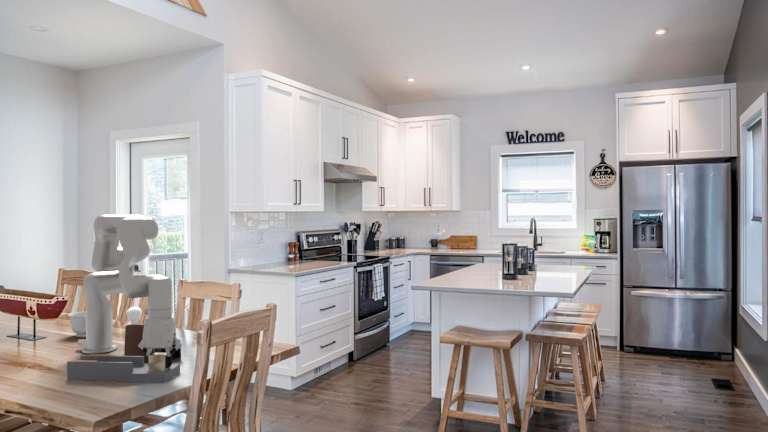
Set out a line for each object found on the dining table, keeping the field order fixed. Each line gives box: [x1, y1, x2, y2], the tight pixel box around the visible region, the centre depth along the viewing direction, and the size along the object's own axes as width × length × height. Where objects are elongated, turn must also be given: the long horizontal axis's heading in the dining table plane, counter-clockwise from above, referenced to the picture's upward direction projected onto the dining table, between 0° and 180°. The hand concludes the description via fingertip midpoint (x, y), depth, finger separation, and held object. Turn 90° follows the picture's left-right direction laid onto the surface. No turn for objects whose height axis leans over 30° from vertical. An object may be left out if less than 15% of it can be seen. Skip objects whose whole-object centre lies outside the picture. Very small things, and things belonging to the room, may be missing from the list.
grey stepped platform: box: [66, 353, 181, 384], centre depth 188 cm, size 34×12×6 cm, turn 87°
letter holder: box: [123, 324, 182, 365], centre depth 209 cm, size 10×20×14 cm, turn 62°
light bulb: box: [126, 306, 143, 325], centre depth 261 cm, size 7×7×11 cm
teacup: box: [67, 310, 86, 338], centre depth 248 cm, size 12×15×10 cm
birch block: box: [149, 352, 170, 372], centre depth 186 cm, size 5×5×5 cm
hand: (160, 366), depth 187 cm, fingers closed on birch block, 5 cm apart
